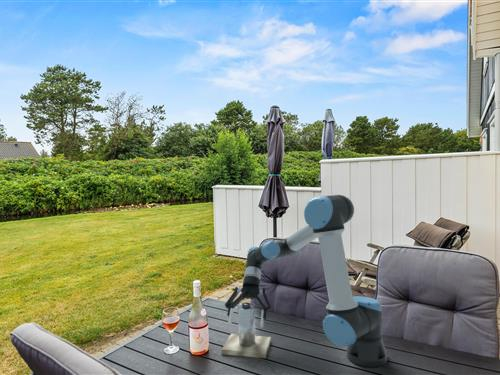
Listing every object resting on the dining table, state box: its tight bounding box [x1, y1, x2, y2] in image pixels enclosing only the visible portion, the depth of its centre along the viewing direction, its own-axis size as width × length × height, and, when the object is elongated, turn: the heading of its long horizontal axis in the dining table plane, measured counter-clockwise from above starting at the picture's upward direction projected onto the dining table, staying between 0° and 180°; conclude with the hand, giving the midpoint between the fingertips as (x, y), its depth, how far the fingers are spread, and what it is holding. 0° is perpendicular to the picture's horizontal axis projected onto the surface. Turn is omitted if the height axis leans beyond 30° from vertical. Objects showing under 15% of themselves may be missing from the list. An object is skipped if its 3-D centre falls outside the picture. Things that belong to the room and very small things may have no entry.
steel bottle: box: [237, 301, 256, 347], centre depth 144 cm, size 7×7×17 cm
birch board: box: [221, 333, 272, 359], centre depth 144 cm, size 18×14×2 cm
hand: (245, 325), depth 142 cm, fingers open, 13 cm apart
